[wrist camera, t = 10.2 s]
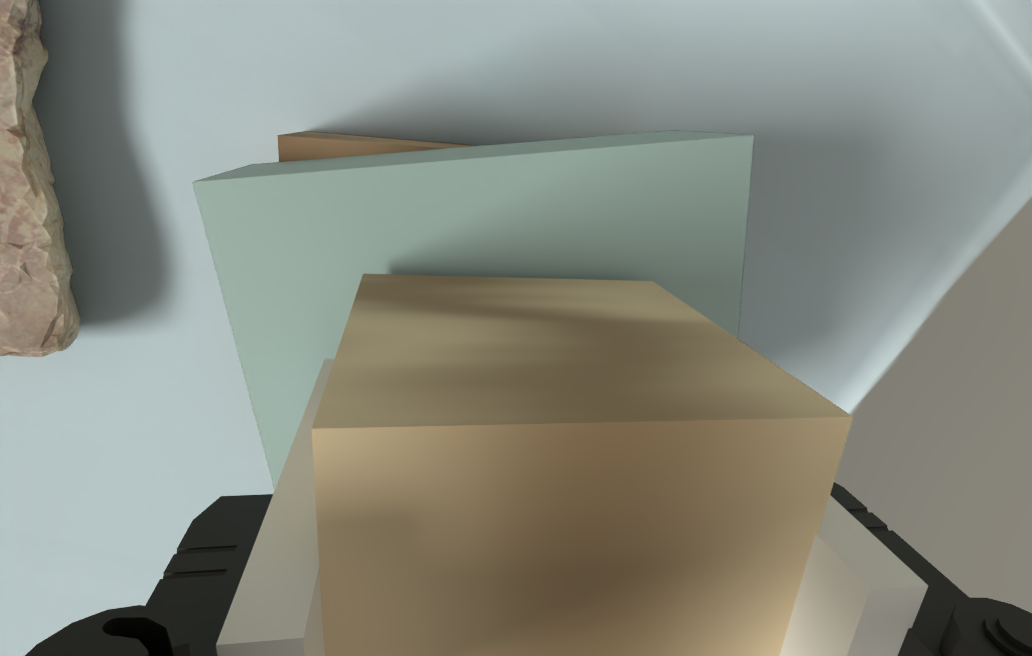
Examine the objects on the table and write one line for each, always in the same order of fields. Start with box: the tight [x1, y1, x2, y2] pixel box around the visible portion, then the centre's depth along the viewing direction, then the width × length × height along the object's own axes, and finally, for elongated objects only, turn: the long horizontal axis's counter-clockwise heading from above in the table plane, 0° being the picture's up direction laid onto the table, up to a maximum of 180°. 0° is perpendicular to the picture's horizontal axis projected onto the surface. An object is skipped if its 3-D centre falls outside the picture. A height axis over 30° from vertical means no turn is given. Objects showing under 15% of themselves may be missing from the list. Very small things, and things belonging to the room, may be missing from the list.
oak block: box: [312, 274, 853, 656], centre depth 10 cm, size 6×6×6 cm
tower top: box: [192, 130, 754, 490], centre depth 15 cm, size 11×11×4 cm
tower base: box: [278, 131, 480, 162], centre depth 19 cm, size 11×11×4 cm
